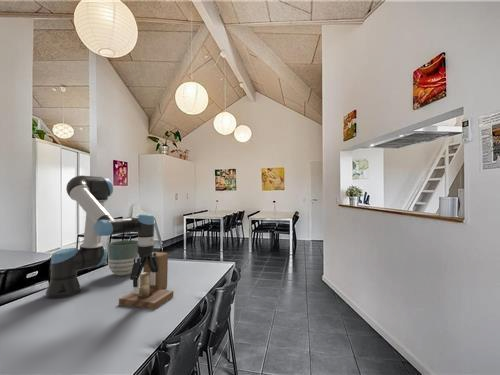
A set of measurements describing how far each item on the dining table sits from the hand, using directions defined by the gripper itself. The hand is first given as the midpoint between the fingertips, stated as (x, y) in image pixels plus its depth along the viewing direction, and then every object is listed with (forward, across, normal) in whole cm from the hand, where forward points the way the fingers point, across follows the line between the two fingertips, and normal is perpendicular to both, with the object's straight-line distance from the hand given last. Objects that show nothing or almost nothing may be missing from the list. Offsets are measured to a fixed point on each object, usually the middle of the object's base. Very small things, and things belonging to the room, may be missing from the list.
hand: (144, 289), depth 126 cm
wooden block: (+7, +17, +6) cm, 19 cm away
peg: (+6, 0, 0) cm, 6 cm away
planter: (+7, +35, +44) cm, 57 cm away
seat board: (+6, +2, 0) cm, 7 cm away
